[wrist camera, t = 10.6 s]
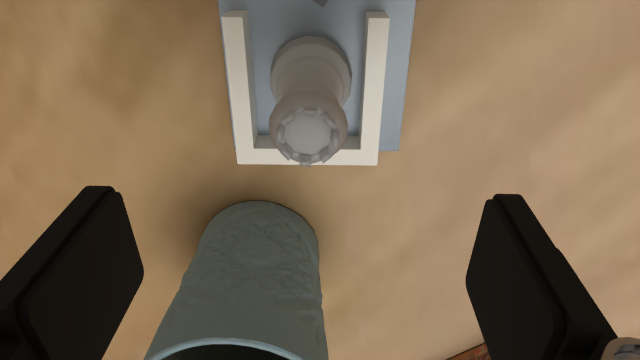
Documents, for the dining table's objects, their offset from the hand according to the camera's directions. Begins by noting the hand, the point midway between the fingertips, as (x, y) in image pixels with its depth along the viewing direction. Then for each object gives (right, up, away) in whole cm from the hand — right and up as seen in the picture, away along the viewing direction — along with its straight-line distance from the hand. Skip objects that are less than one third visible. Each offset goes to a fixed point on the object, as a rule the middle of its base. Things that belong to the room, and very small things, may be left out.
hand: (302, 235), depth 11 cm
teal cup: (-4, -4, +21) cm, 21 cm away
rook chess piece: (0, +7, +12) cm, 14 cm away
